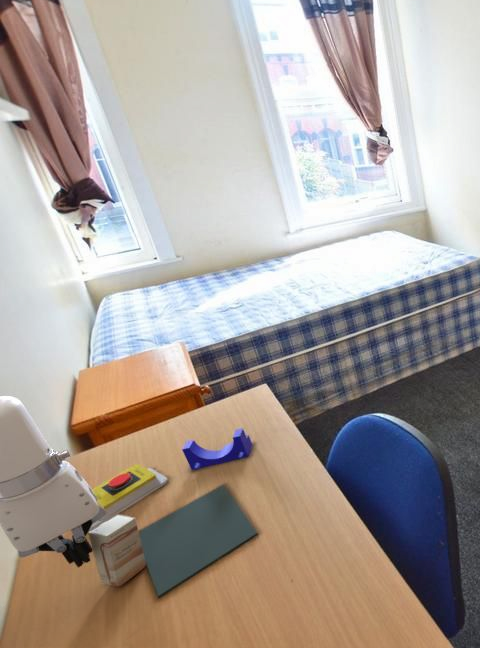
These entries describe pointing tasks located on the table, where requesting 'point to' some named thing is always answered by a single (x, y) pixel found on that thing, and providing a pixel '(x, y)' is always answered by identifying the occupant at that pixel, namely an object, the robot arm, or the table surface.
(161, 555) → the mat
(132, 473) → the emergency button
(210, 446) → the table surface
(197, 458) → the cable clip
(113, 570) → the printed medicine box
